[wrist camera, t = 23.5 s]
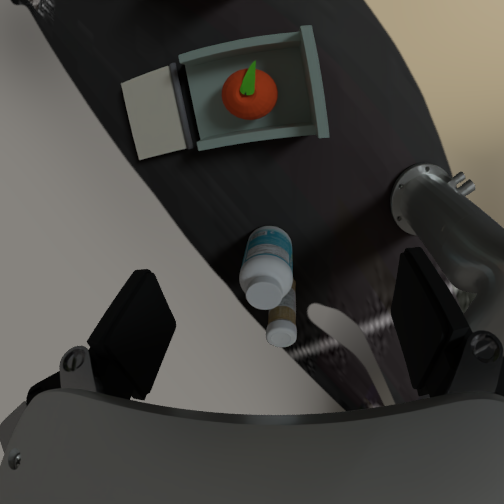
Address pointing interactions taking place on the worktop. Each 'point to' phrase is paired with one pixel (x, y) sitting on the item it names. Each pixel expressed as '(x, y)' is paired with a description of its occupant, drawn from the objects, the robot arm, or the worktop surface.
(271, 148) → the worktop surface
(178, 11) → the worktop surface
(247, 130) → the grey-green open bin
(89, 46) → the worktop surface
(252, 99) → the clementine
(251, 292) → the pill bottle
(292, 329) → the sprinkles bottle
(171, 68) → the panel
